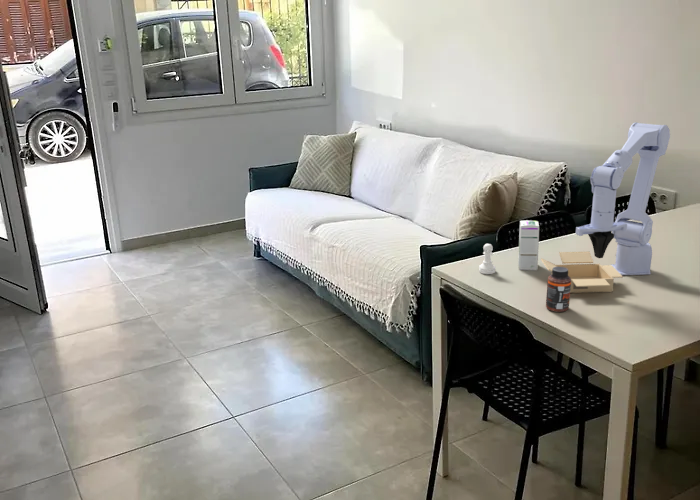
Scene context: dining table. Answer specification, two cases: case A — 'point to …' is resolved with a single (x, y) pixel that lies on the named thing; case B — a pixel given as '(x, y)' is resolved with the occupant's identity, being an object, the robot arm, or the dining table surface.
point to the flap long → (548, 264)
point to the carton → (591, 277)
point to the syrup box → (528, 245)
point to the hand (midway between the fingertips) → (598, 256)
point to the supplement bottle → (558, 290)
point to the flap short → (576, 257)
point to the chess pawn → (487, 261)
